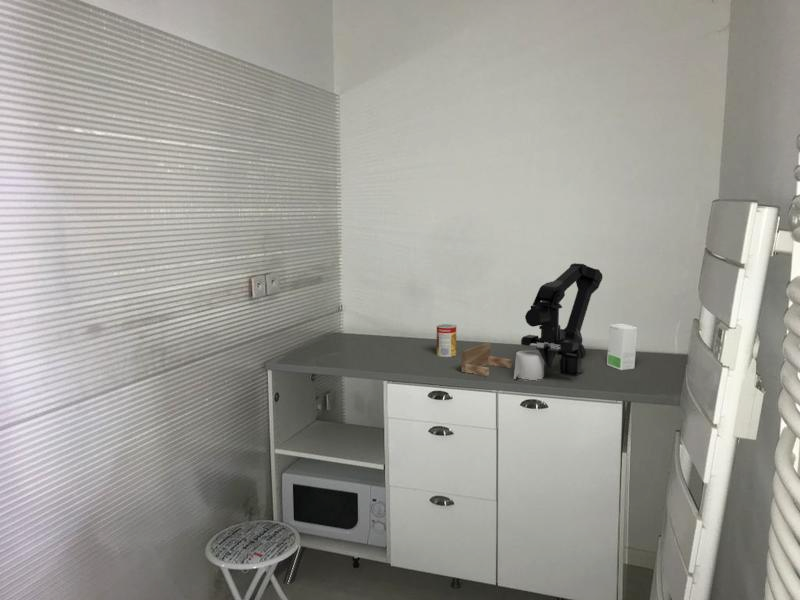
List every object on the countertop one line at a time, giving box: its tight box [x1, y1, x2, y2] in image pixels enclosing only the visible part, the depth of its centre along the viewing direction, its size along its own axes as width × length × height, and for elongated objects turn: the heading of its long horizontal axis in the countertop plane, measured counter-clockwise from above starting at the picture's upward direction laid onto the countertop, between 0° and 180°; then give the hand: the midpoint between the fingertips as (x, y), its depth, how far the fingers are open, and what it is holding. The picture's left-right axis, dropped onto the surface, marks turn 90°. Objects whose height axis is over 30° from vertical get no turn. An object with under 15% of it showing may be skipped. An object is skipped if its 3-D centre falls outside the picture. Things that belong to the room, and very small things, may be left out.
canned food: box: [436, 323, 457, 358], centre depth 260 cm, size 8×8×12 cm
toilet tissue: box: [513, 349, 545, 381], centre depth 224 cm, size 9×13×9 cm
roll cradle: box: [461, 342, 512, 376], centre depth 236 cm, size 10×17×8 cm, turn 141°
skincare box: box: [606, 322, 638, 371], centre depth 237 cm, size 8×7×16 cm
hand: (548, 367), depth 220 cm, fingers closed
